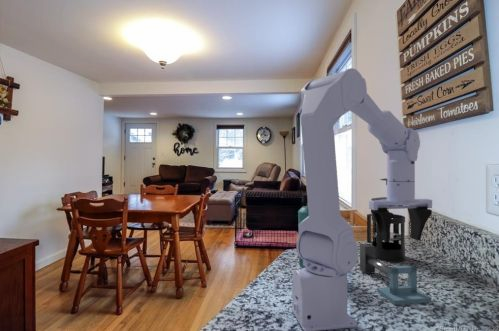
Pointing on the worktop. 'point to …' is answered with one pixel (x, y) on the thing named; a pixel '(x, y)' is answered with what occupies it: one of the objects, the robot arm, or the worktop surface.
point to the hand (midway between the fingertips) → (400, 240)
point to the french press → (390, 249)
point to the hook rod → (371, 260)
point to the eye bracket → (403, 287)
